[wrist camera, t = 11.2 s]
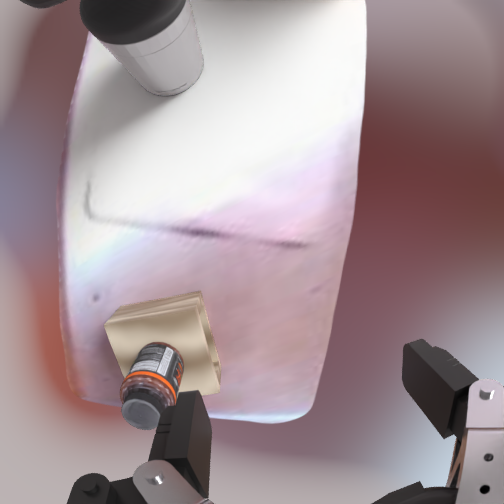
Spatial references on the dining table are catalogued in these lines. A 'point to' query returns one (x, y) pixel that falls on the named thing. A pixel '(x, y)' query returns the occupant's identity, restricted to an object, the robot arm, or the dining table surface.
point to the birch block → (169, 337)
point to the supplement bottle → (151, 384)
